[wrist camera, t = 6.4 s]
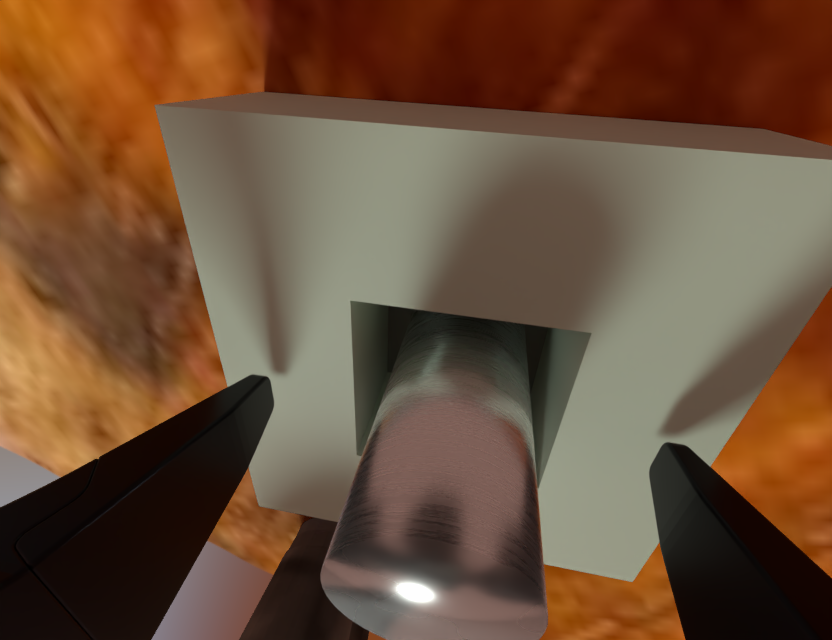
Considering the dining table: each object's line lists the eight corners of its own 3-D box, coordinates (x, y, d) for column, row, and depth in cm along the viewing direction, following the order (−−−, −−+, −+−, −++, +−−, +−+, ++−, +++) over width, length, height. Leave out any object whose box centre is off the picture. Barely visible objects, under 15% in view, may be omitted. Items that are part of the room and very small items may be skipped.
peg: (535, 283, 12) (576, 572, 5) (513, 376, 14) (522, 675, 7) (415, 268, 12) (311, 517, 6) (410, 360, 14) (327, 627, 7)
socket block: (764, 128, 9) (911, 166, 6) (604, 471, 16) (632, 581, 12) (262, 91, 11) (154, 105, 7) (306, 419, 17) (258, 505, 14)
